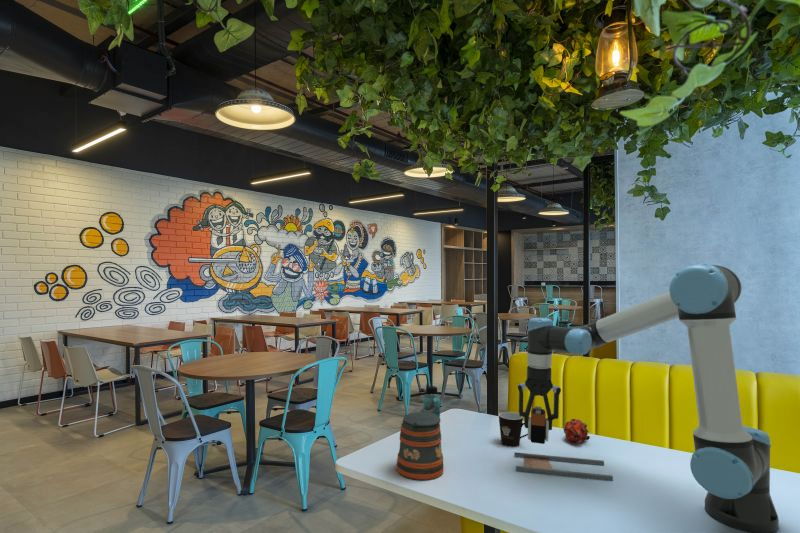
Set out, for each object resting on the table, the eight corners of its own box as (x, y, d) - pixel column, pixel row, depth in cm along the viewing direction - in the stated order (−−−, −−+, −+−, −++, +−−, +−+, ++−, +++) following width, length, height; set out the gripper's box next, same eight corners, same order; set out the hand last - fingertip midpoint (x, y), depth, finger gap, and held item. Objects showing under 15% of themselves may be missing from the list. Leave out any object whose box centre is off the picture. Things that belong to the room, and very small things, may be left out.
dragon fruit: (576, 439, 173) (579, 456, 162) (557, 425, 174) (558, 440, 163) (591, 424, 171) (594, 439, 159) (572, 409, 172) (574, 424, 161)
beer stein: (408, 452, 154) (409, 393, 154) (451, 458, 149) (452, 398, 150) (390, 476, 136) (391, 409, 136) (437, 484, 131) (438, 415, 132)
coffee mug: (493, 440, 166) (493, 413, 166) (512, 437, 169) (512, 410, 170) (513, 452, 155) (514, 423, 155) (533, 448, 159) (534, 420, 159)
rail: (612, 480, 135) (612, 476, 135) (516, 471, 141) (516, 467, 141) (603, 464, 147) (603, 460, 147) (514, 455, 153) (514, 452, 153)
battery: (544, 437, 148) (545, 406, 148) (545, 444, 141) (545, 412, 142) (530, 435, 149) (531, 404, 149) (530, 442, 143) (531, 410, 143)
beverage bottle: (419, 444, 161) (420, 388, 161) (424, 438, 167) (425, 383, 168) (437, 447, 159) (438, 390, 159) (441, 440, 165) (442, 385, 166)
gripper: (566, 365, 148) (565, 437, 147) (510, 362, 151) (509, 432, 151) (570, 370, 140) (568, 446, 140) (511, 366, 144) (509, 440, 144)
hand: (537, 438), depth 145 cm, fingers closed on battery, 5 cm apart
